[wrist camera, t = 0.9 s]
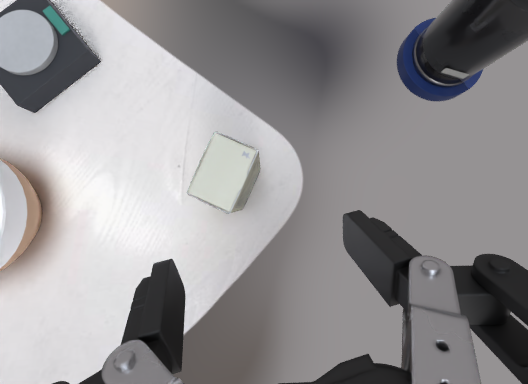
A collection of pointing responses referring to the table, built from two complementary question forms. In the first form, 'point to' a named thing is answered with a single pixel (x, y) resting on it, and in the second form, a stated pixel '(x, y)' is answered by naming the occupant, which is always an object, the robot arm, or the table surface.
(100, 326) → the table surface
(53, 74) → the scale
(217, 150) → the cosmetic box
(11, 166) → the bowl
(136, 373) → the robot arm
